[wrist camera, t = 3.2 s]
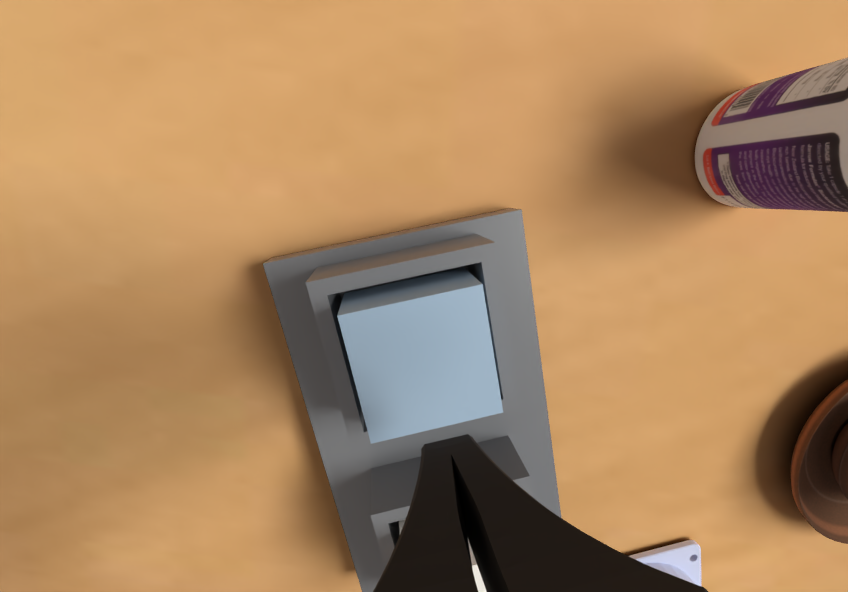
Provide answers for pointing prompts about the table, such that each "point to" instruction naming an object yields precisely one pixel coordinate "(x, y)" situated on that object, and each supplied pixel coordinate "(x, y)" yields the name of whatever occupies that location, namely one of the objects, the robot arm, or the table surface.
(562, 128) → the table surface
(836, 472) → the cup and saucer
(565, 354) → the table surface
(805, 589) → the table surface
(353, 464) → the key panel
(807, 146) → the pill bottle
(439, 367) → the blue key
